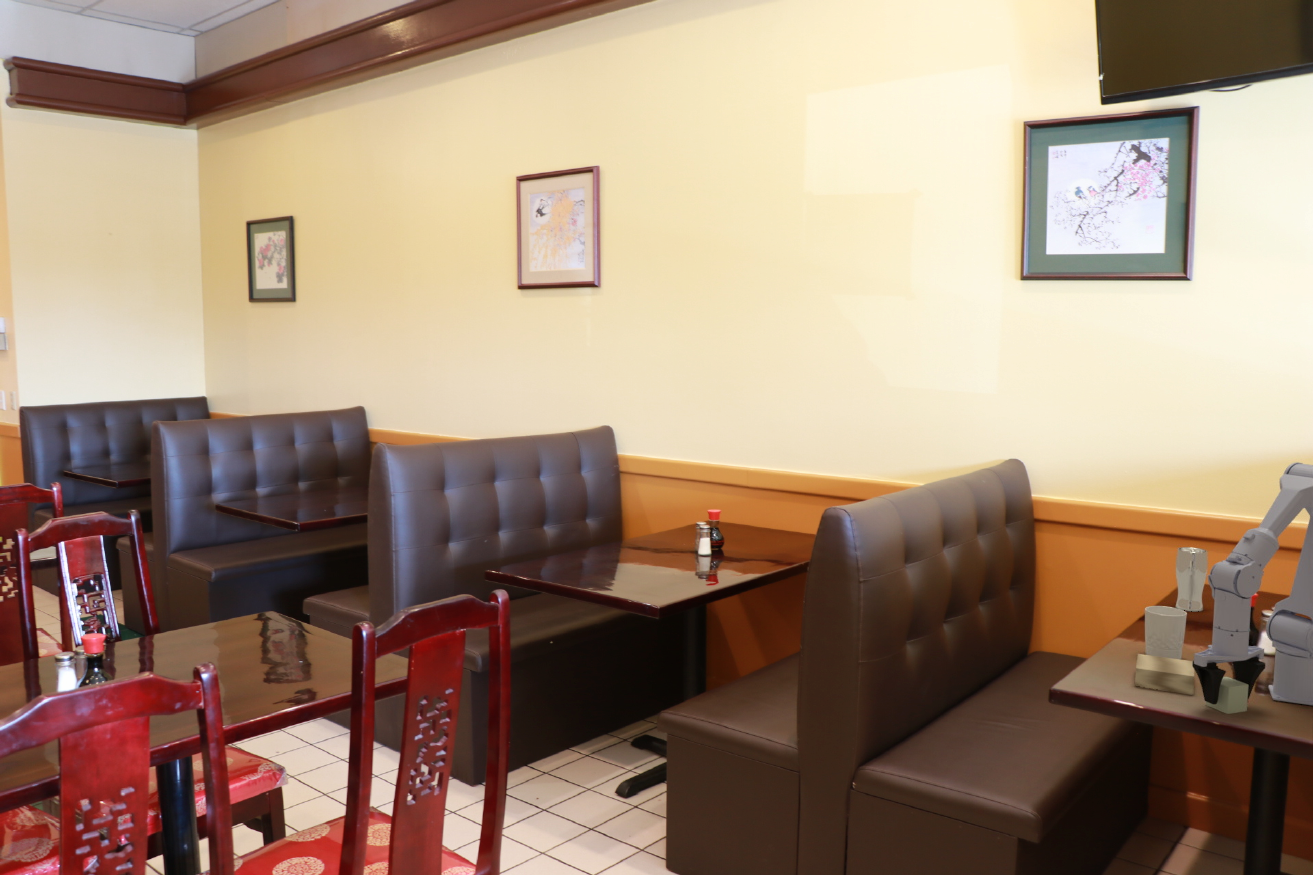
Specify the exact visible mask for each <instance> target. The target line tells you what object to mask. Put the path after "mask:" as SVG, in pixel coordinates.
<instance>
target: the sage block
mask: <svg viewBox="0 0 1313 875" xmlns="http://www.w3.org/2000/svg"><path fill="white" fill-rule="evenodd" d="M1248 700H1249V699H1248V684H1245V683H1243V682H1240V681H1237V680H1235V679H1234V678H1232V677H1229V676H1224V677H1223V679H1222V682H1221V685H1220V689H1219V697H1218V702H1217V704H1211V703H1209V702H1206V701H1205V706H1207V707H1210V708H1212V709H1215V710H1217V711H1219V712H1222V713H1225V714H1226V715H1228V714H1231V715H1232V714H1236V713H1243V712H1247V711H1248Z"/></svg>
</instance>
